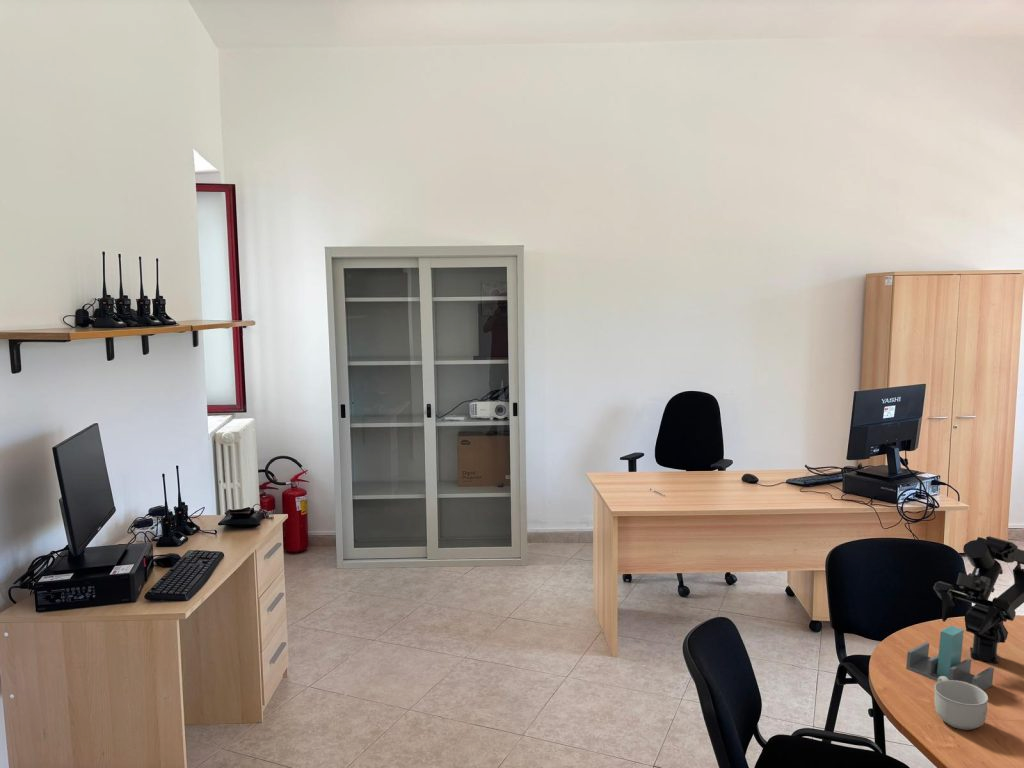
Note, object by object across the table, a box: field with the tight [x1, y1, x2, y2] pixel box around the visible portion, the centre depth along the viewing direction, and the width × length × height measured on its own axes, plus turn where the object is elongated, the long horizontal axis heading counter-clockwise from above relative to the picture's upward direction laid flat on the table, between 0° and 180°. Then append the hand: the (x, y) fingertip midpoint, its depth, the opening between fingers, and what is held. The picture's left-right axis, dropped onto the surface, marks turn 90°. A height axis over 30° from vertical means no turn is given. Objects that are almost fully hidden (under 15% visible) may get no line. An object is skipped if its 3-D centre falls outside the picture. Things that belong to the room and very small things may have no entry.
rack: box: [905, 641, 995, 692], centre depth 195 cm, size 10×17×5 cm, turn 35°
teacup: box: [933, 676, 989, 731], centre depth 175 cm, size 14×11×8 cm
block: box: [937, 625, 965, 679], centre depth 195 cm, size 6×3×12 cm, turn 125°
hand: (961, 627), depth 197 cm, fingers open, 9 cm apart
